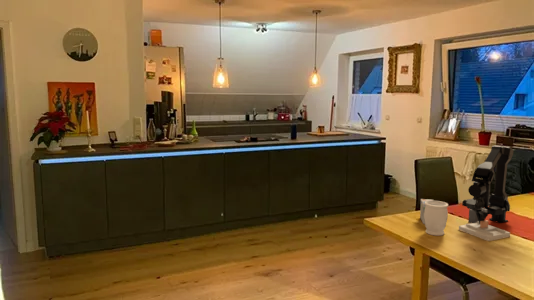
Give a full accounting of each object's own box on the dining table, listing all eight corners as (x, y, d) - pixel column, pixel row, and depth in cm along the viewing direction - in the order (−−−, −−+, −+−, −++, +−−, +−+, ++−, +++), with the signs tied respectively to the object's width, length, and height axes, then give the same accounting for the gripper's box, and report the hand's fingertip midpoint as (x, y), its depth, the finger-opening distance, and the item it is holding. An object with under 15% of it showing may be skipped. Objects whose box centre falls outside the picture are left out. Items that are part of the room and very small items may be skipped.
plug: (473, 221, 217) (474, 208, 216) (480, 223, 214) (481, 210, 213) (468, 222, 216) (469, 209, 215) (474, 224, 212) (475, 211, 211)
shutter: (483, 225, 203) (483, 218, 203) (494, 229, 197) (495, 222, 197) (473, 227, 201) (473, 219, 200) (485, 231, 195) (485, 223, 194)
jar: (445, 230, 204) (447, 201, 201) (447, 237, 194) (449, 207, 192) (422, 228, 207) (424, 199, 205) (423, 235, 197) (424, 205, 195)
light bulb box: (436, 224, 212) (437, 204, 211) (422, 224, 214) (423, 204, 212) (432, 218, 223) (433, 199, 221) (419, 217, 224) (420, 198, 222)
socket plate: (479, 225, 210) (479, 219, 209) (509, 236, 194) (510, 230, 194) (458, 229, 205) (459, 223, 204) (488, 241, 189) (489, 234, 189)
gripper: (454, 190, 204) (453, 220, 206) (487, 199, 187) (485, 232, 189) (471, 187, 208) (469, 217, 210) (505, 196, 191) (502, 228, 193)
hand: (480, 223), depth 201 cm, fingers closed
